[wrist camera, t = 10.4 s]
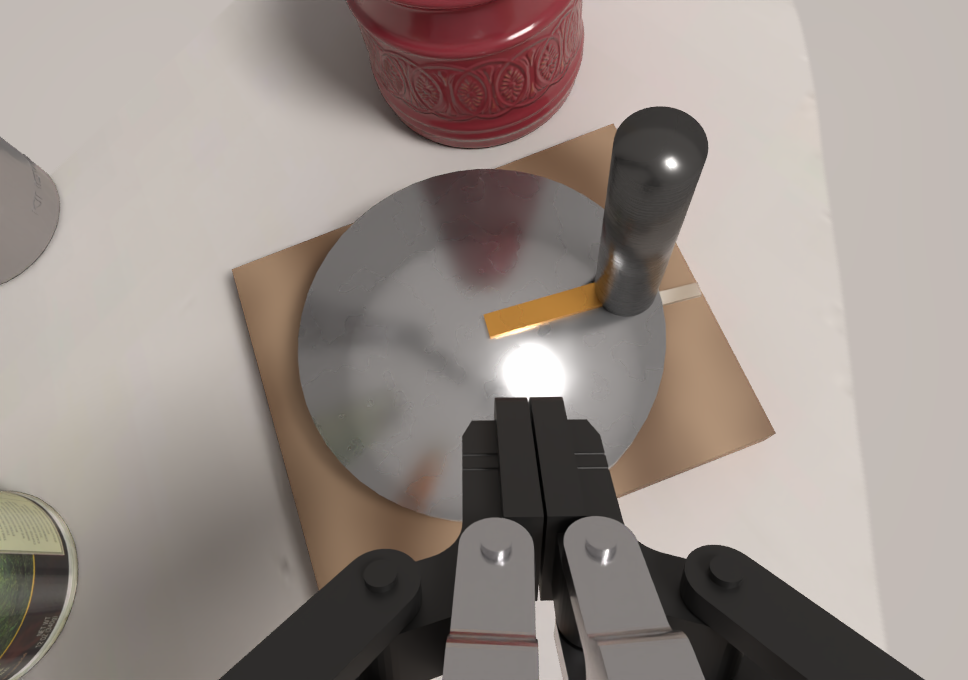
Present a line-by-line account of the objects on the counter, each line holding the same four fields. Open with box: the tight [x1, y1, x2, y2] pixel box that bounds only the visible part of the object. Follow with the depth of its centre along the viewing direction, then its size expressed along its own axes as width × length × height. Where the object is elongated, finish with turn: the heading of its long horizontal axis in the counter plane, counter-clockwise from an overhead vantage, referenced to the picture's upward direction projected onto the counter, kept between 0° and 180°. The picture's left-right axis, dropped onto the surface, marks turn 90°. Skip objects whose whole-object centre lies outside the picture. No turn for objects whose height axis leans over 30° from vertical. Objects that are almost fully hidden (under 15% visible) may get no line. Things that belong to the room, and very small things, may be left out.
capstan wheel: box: [298, 107, 708, 523], centre depth 29 cm, size 18×18×14 cm
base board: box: [232, 124, 776, 590], centre depth 37 cm, size 23×19×2 cm
